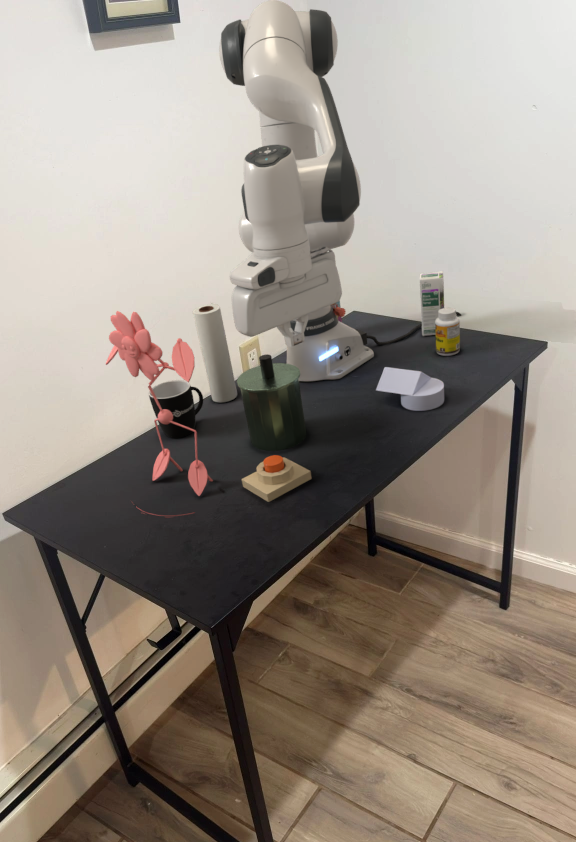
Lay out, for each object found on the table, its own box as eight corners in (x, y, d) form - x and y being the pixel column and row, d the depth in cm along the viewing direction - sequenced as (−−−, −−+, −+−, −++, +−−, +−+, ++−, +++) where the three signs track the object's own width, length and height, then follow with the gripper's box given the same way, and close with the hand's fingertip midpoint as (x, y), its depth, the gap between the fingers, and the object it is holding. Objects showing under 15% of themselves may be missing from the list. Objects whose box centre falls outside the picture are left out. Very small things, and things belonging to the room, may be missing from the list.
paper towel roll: (224, 405, 165) (205, 314, 153) (206, 400, 169) (186, 311, 157) (246, 392, 169) (229, 303, 157) (228, 388, 173) (210, 300, 161)
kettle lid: (275, 363, 147) (271, 339, 145) (313, 377, 139) (310, 352, 136) (225, 385, 142) (220, 360, 139) (262, 401, 133) (257, 375, 130)
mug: (175, 445, 152) (164, 402, 146) (152, 434, 158) (140, 392, 152) (219, 422, 158) (210, 379, 152) (195, 412, 164) (185, 371, 158)
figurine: (158, 458, 148) (110, 290, 129) (246, 491, 132) (207, 305, 113) (98, 494, 139) (37, 319, 120) (185, 534, 124) (131, 341, 104)
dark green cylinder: (283, 420, 154) (274, 361, 147) (318, 436, 146) (309, 375, 139) (240, 441, 149) (228, 381, 142) (273, 459, 141) (262, 396, 133)
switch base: (285, 467, 138) (282, 448, 136) (312, 481, 132) (309, 462, 130) (243, 489, 133) (239, 470, 131) (269, 504, 128) (265, 485, 125)
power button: (276, 461, 133) (275, 453, 132) (288, 467, 130) (287, 459, 129) (261, 469, 131) (259, 461, 130) (272, 475, 129) (271, 467, 128)
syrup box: (421, 336, 182) (419, 279, 174) (422, 328, 186) (419, 272, 178) (445, 335, 180) (443, 277, 172) (444, 326, 185) (443, 269, 177)
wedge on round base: (376, 404, 154) (432, 413, 147) (374, 375, 150) (431, 383, 143) (396, 387, 160) (451, 394, 153) (394, 358, 156) (450, 365, 149)
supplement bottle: (432, 350, 174) (431, 309, 168) (454, 345, 174) (454, 304, 168) (440, 358, 169) (439, 316, 163) (463, 353, 169) (463, 311, 164)
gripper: (320, 241, 121) (329, 320, 129) (220, 276, 112) (236, 360, 119) (345, 245, 116) (353, 327, 124) (243, 282, 107) (258, 368, 115)
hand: (295, 343), depth 122 cm, fingers closed
